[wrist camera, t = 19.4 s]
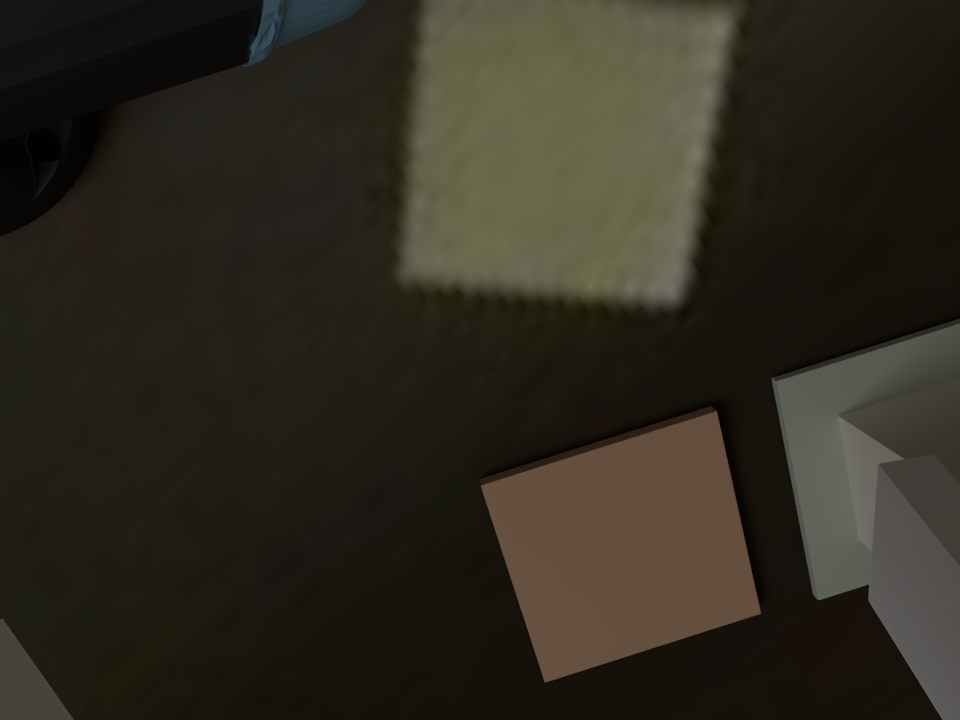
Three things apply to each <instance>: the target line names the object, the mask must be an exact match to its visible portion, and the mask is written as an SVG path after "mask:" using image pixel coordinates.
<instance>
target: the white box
mask: <svg viewBox="0 0 960 720" xmlns="http://www.w3.org/2000/svg"><path fill="white" fill-rule="evenodd" d="M838 419H839V425H840V431H841V437H842V442H843V448H844V454H845V460H846V465H847V471H848V477H849V483H850V489H851V494H852V500H853V506H854V512H855V517H856V523H857V529H858V535H859V540H860V542H861V543H862V544H863V545H865V546H866V547H867V548H868V549H869V550H870V551H871V552H872V543H873V529H874V516H875V502H876V488H877V475H878V464H880V463H886V462H891V461H897V460H903V459H908V458H914V457H920V456H925V455H931V454H933V455H934V456H935V457H936V458H937V459H938V460H939V461H940V463H941V464H942V465H943V466H944V467H945V468H946V469H947V470H948V471H949V472H950V474H951V475H952V476H953V477H954V478H955V479H956V480H957V481H958V482H959V483H960V377H957V378H954V379H951V380H947V381H944V382H941V383H938V384H935V385H932V386H929V387H926V388H922V389H919V390H916V391H913V392H910V393H907V394H904V395H901V396H898V397H894V398H891V399H888V400H885V401H882V402H879V403H876V404H873V405H870V406H866V407H863V408H860V409H857V410H854V411H851V412H848V413H845V414H842V415H838Z"/></svg>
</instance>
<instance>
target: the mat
mask: <svg viewBox="0 0 960 720" xmlns="http://www.w3.org/2000/svg"><path fill="white" fill-rule="evenodd" d="M957 377H960V319H957V320H954V321H951V322H948V323H944V324H941V325H938V326H935V327H932V328H929V329H925V330H922V331H919V332H916V333H913V334H910V335H906V336H903V337H900V338H897V339H894V340H891V341H887V342H884V343H881V344H878V345H875V346H871V347H868V348H865V349H862V350H859V351H856V352H852V353H849V354H846V355H843V356H840V357H837V358H833V359H830V360H827V361H824V362H821V363H818V364H814V365H811V366H808V367H805V368H802V369H799V370H795V371H792V372H789V373H786V374H783V375H780V376H776V377H773V378H772V383H773V388H774V394H775V399H776V404H777V409H778V414H779V419H780V425H781V430H782V435H783V440H784V445H785V451H786V456H787V461H788V466H789V471H790V477H791V482H792V487H793V492H794V497H795V503H796V508H797V513H798V518H799V523H800V529H801V534H802V539H803V544H804V549H805V554H806V560H807V565H808V570H809V575H810V580H811V586H812V591H813V595H814V596H815V597H816V598H817V599H818V600H821V599H824V598H827V597H830V596H833V595H837V594H840V593H843V592H846V591H849V590H852V589H855V588H858V587H862V586H865V585H868V584H870V570H871V557H872V552H871V551H870V550H869V549H868V548H867V547H866V546H865V545H863V544H862V543H861V542H860V540H859V535H858V529H857V523H856V517H855V512H854V506H853V500H852V494H851V489H850V483H849V477H848V471H847V465H846V460H845V454H844V448H843V442H842V437H841V431H840V425H839V419H838V415H842V414H845V413H848V412H851V411H854V410H857V409H860V408H863V407H866V406H870V405H873V404H876V403H879V402H882V401H885V400H888V399H891V398H894V397H898V396H901V395H904V394H907V393H910V392H913V391H916V390H919V389H922V388H926V387H929V386H932V385H935V384H938V383H941V382H944V381H947V380H951V379H954V378H957Z"/></svg>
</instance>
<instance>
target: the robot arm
mask: <svg viewBox="0 0 960 720" xmlns="http://www.w3.org/2000/svg"><path fill="white" fill-rule="evenodd" d="M366 1H367V0H0V236H2V235H5V234H8V233H10V232H13V231H15V230H17V229H19V228H21V227H23V226H25V225H27V224H29V223H31V222H32V221H34V220H35V219H37V218H38V217H40V216H41V215H43V214H44V213H45V212H46V211H48V210H49V209H50V208H51V207H52V206H54V205H55V204H56V203H57V202H58V201H59V200H60V199H61V198H62V197H63V196H64V194H65V193H66V192H67V191H68V190H69V188H70V187H71V186H72V184H73V183H74V182H75V180H76V179H77V177H78V176H79V174H80V172H81V171H82V169H83V167H84V165H85V163H86V161H87V159H88V156H89V154H90V152H91V149H92V146H93V143H94V140H95V137H96V132H97V128H98V123H99V117H100V110H102V109H105V108H108V107H111V106H114V105H118V104H121V103H124V102H127V101H130V100H133V99H136V98H139V97H142V96H146V95H149V94H152V93H155V92H158V91H161V90H164V89H167V88H170V87H174V86H177V85H180V84H183V83H186V82H189V81H192V80H195V79H198V78H202V77H205V76H208V75H211V74H214V73H217V72H220V71H223V70H226V69H230V68H233V67H236V66H239V65H242V64H243V65H244V66H250V65H253V64H255V63H256V62H261V61H263V60H264V59H265V58H266V57H267V56H268V55H269V54H270V52H271V50H273V49H275V48H278V47H280V46H282V45H285V44H287V43H290V42H292V41H294V40H297V39H299V38H302V37H304V36H306V35H309V34H311V33H314V32H316V31H319V30H321V29H323V28H326V27H328V26H331V25H333V24H335V23H338V22H340V21H343V20H345V19H347V18H348V17H350V16H351V15H353V14H354V13H355V12H356V11H358V10H359V9H360V8H361V7H363V6H364V3H365V2H366ZM868 600H869V602H870V604H871V605H872V607H873V608H874V610H875V612H876V613H877V615H878V616H879V618H880V620H881V621H882V623H883V624H884V626H885V628H886V629H887V631H888V633H889V634H890V636H891V637H892V639H893V641H894V642H895V644H896V645H897V647H898V649H899V650H900V652H901V653H902V655H903V657H904V658H905V660H906V662H907V663H908V665H909V666H910V668H911V670H912V671H913V673H914V674H915V676H916V678H917V679H918V681H919V682H920V684H921V686H922V687H923V689H924V691H925V692H926V694H927V695H928V697H929V699H930V700H931V702H932V703H933V705H934V707H935V708H936V710H937V711H938V713H939V715H940V716H941V718H942V719H943V720H960V483H959V482H958V481H957V480H956V479H955V478H954V477H953V476H952V475H951V474H950V472H949V471H948V470H947V469H946V468H945V467H944V466H943V465H942V464H941V463H940V461H939V460H938V459H937V458H936V457H935V456H934V455H933V454H931V455H925V456H920V457H914V458H908V459H903V460H897V461H891V462H886V463H880V464H878V475H877V488H876V502H875V516H874V529H873V543H872V557H871V570H870V584H869V598H868ZM0 720H73V718H72V717H71V715H70V714H69V713H68V711H67V710H66V708H65V707H64V706H63V704H62V703H61V701H60V700H59V698H58V697H57V696H56V694H55V693H54V691H53V690H52V688H51V687H50V686H49V684H48V683H47V681H46V680H45V678H44V677H43V676H42V674H41V673H40V671H39V670H38V669H37V667H36V666H35V664H34V663H33V661H32V660H31V659H30V657H29V656H28V654H27V653H26V651H25V650H24V649H23V647H22V646H21V644H20V643H19V641H18V640H17V639H16V637H15V636H14V634H13V633H12V632H11V630H10V629H9V627H8V626H7V624H6V623H5V622H4V620H3V619H0Z"/></svg>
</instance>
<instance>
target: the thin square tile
mask: <svg viewBox="0 0 960 720" xmlns="http://www.w3.org/2000/svg"><path fill="white" fill-rule="evenodd" d="M479 480H480V484H481V488H482V491H483V494H484V497H485V500H486V503H487V506H488V509H489V512H490V515H491V518H492V521H493V524H494V528H495V531H496V534H497V537H498V540H499V543H500V546H501V549H502V552H503V555H504V558H505V561H506V564H507V567H508V570H509V574H510V577H511V580H512V583H513V586H514V589H515V592H516V595H517V598H518V601H519V604H520V607H521V610H522V613H523V616H524V619H525V623H526V626H527V629H528V632H529V635H530V638H531V641H532V644H533V647H534V650H535V653H536V656H537V659H538V662H539V665H540V669H541V672H542V675H543V678H544V681H545V682H548V681H551V680H554V679H557V678H560V677H563V676H567V675H570V674H573V673H576V672H579V671H582V670H585V669H588V668H592V667H595V666H598V665H601V664H604V663H607V662H610V661H614V660H617V659H620V658H623V657H626V656H629V655H632V654H636V653H639V652H642V651H645V650H648V649H651V648H654V647H657V646H661V645H664V644H667V643H670V642H673V641H676V640H679V639H683V638H686V637H689V636H692V635H695V634H698V633H701V632H705V631H708V630H711V629H714V628H717V627H720V626H723V625H727V624H730V623H733V622H736V621H739V620H742V619H745V618H748V617H752V616H755V615H758V614H761V612H760V607H759V603H758V598H757V593H756V589H755V584H754V580H753V575H752V570H751V566H750V561H749V557H748V552H747V548H746V543H745V538H744V534H743V529H742V525H741V520H740V515H739V511H738V506H737V502H736V497H735V493H734V488H733V483H732V479H731V474H730V470H729V465H728V460H727V456H726V451H725V447H724V442H723V437H722V433H721V428H720V424H719V419H718V415H717V411H716V410H715V409H714V408H713V407H712V406H710V407H707V408H703V409H700V410H697V411H694V412H691V413H687V414H684V415H681V416H678V417H675V418H672V419H668V420H665V421H662V422H659V423H656V424H653V425H649V426H646V427H643V428H640V429H637V430H634V431H630V432H627V433H624V434H621V435H618V436H615V437H611V438H608V439H605V440H602V441H599V442H596V443H592V444H589V445H586V446H583V447H580V448H577V449H573V450H570V451H567V452H564V453H561V454H558V455H554V456H551V457H548V458H545V459H542V460H538V461H535V462H532V463H529V464H526V465H523V466H519V467H516V468H513V469H510V470H507V471H504V472H500V473H497V474H494V475H491V476H488V477H485V478H481V479H479Z"/></svg>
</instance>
